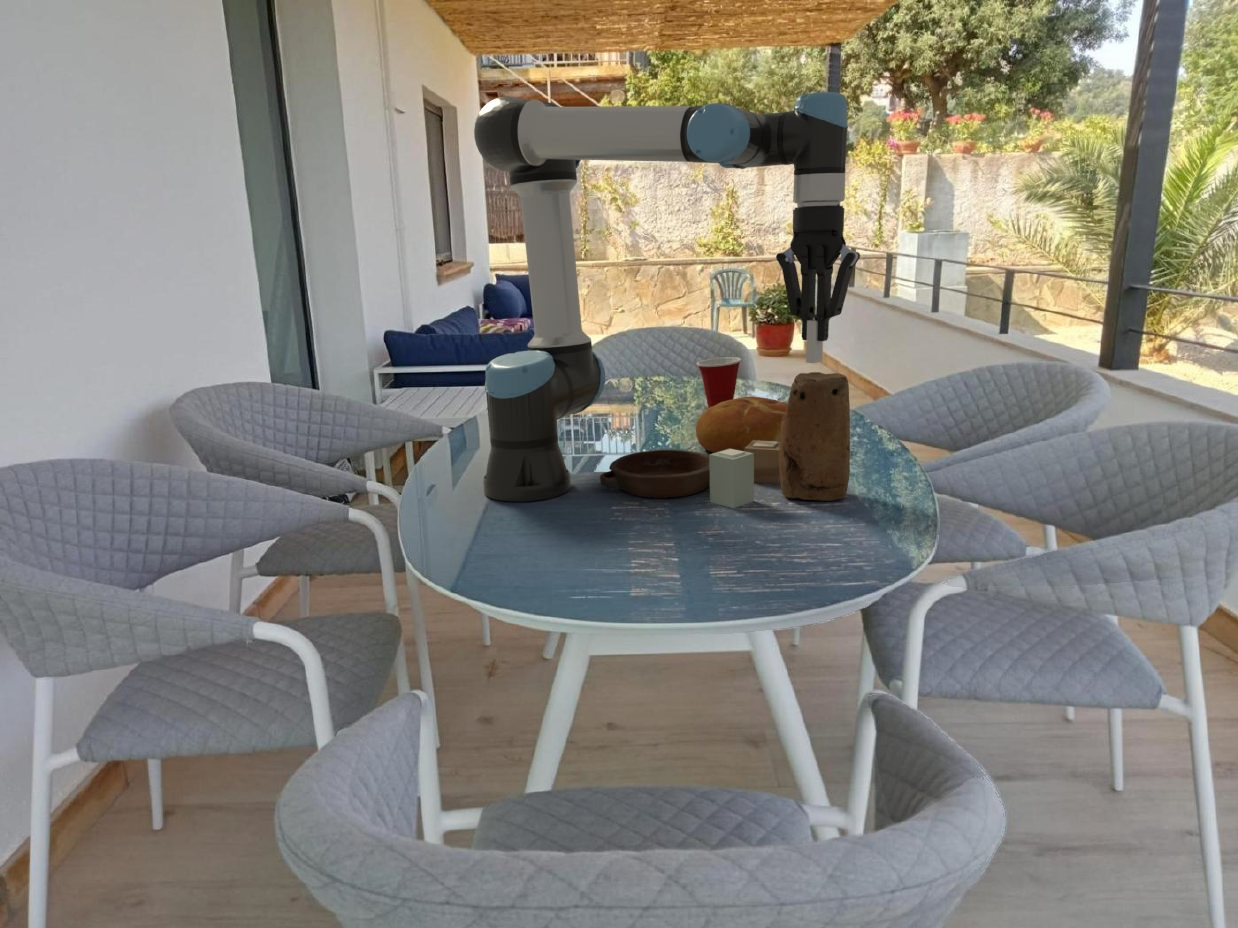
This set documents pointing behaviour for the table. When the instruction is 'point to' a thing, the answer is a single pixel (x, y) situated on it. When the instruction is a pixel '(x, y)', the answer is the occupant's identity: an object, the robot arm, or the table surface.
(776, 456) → the walnut cube
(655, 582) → the table surface
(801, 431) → the brown pitted rock
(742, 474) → the grey-green post
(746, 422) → the bread
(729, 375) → the plastic cup
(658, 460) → the dish
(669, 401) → the table surface
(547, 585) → the table surface
